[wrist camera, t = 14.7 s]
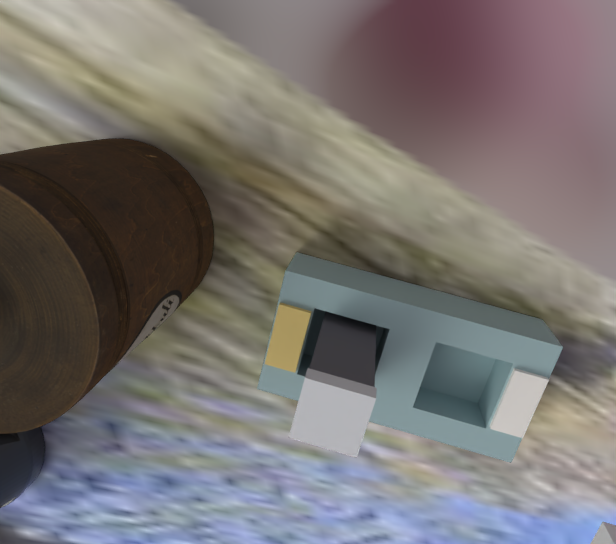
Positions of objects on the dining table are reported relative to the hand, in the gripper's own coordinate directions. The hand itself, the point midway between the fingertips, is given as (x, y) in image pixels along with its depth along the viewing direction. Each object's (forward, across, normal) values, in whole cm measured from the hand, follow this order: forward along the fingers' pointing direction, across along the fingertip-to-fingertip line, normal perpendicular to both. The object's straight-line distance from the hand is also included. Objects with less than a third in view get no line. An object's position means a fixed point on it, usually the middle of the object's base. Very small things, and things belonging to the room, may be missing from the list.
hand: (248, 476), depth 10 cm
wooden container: (+32, +17, +7) cm, 37 cm away
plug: (+30, -2, +10) cm, 32 cm away
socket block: (+32, -7, +10) cm, 34 cm away
